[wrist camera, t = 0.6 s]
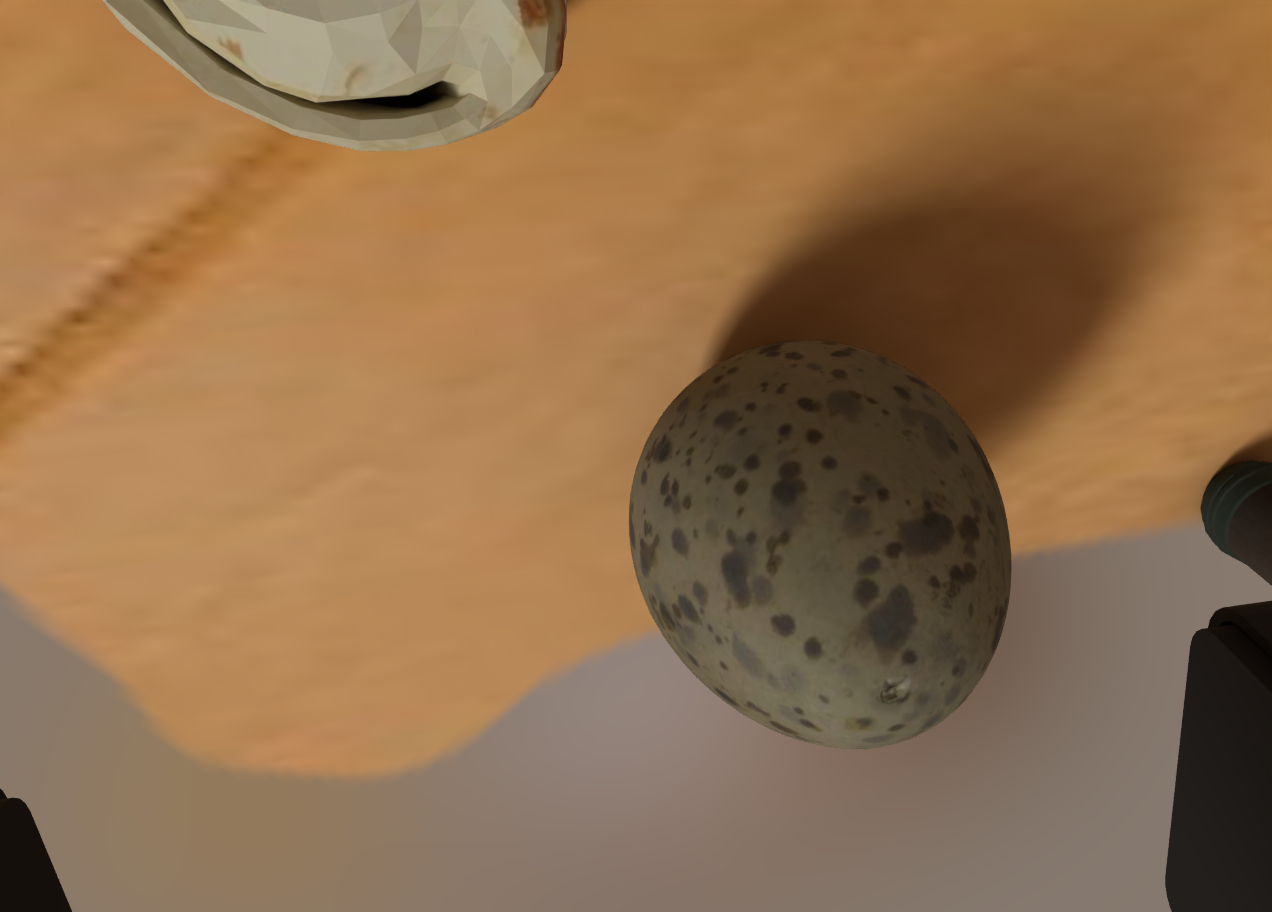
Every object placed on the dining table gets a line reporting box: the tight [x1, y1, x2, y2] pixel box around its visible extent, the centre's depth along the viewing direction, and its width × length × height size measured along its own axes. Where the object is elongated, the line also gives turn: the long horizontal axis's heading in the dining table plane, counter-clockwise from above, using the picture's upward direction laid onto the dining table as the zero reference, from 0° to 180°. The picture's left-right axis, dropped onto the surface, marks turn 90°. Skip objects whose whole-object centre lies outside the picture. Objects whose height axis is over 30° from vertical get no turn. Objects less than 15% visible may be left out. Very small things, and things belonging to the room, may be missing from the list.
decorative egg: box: [629, 340, 1011, 749], centre depth 34 cm, size 11×11×15 cm
